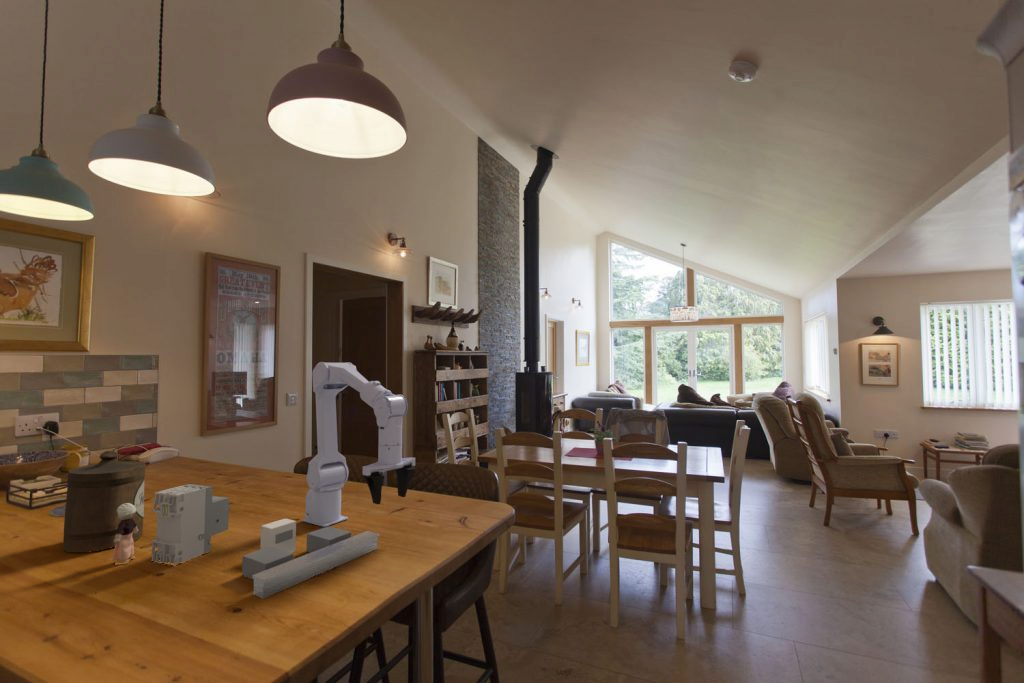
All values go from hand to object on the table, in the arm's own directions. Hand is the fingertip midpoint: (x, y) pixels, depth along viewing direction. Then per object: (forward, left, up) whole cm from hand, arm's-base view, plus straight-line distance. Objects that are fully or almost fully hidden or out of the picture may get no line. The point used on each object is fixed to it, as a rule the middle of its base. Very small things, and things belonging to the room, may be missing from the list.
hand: (389, 499), depth 117 cm
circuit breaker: (-34, -28, -10) cm, 45 cm away
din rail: (0, -19, -10) cm, 21 cm away
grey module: (-16, -19, -10) cm, 27 cm away
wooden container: (-60, -36, -10) cm, 71 cm away
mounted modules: (-8, -19, -10) cm, 23 cm away
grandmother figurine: (-41, -39, -10) cm, 57 cm away
